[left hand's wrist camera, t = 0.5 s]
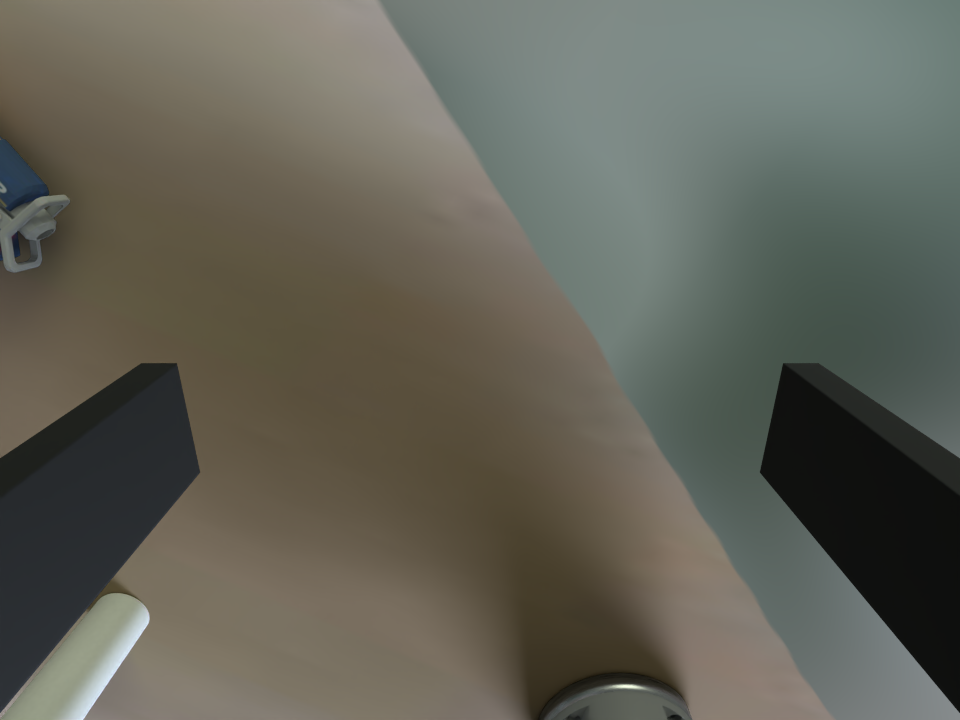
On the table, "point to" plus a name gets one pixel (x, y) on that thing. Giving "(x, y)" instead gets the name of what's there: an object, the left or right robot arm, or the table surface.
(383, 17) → the table surface
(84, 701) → the bottle
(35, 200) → the spray gun
